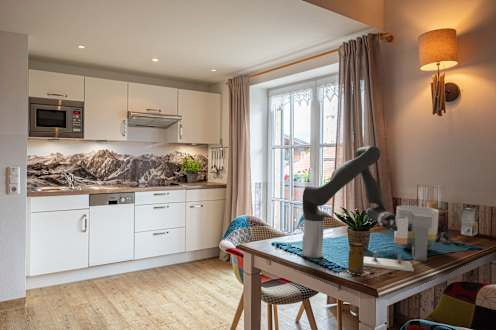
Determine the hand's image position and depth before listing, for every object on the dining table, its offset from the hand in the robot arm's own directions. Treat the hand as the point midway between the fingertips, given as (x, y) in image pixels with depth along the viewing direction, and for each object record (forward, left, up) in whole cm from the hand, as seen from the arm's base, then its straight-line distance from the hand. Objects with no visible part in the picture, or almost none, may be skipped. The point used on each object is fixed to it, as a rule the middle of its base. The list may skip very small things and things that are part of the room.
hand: (403, 229), depth 150 cm
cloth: (+30, +56, -18) cm, 66 cm away
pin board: (-6, +2, -17) cm, 18 cm away
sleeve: (-1, +2, -6) cm, 7 cm away
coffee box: (+51, +85, -17) cm, 101 cm away
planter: (+11, +34, -17) cm, 40 cm away
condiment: (-19, -13, -17) cm, 29 cm away
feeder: (+10, +18, -17) cm, 27 cm away
